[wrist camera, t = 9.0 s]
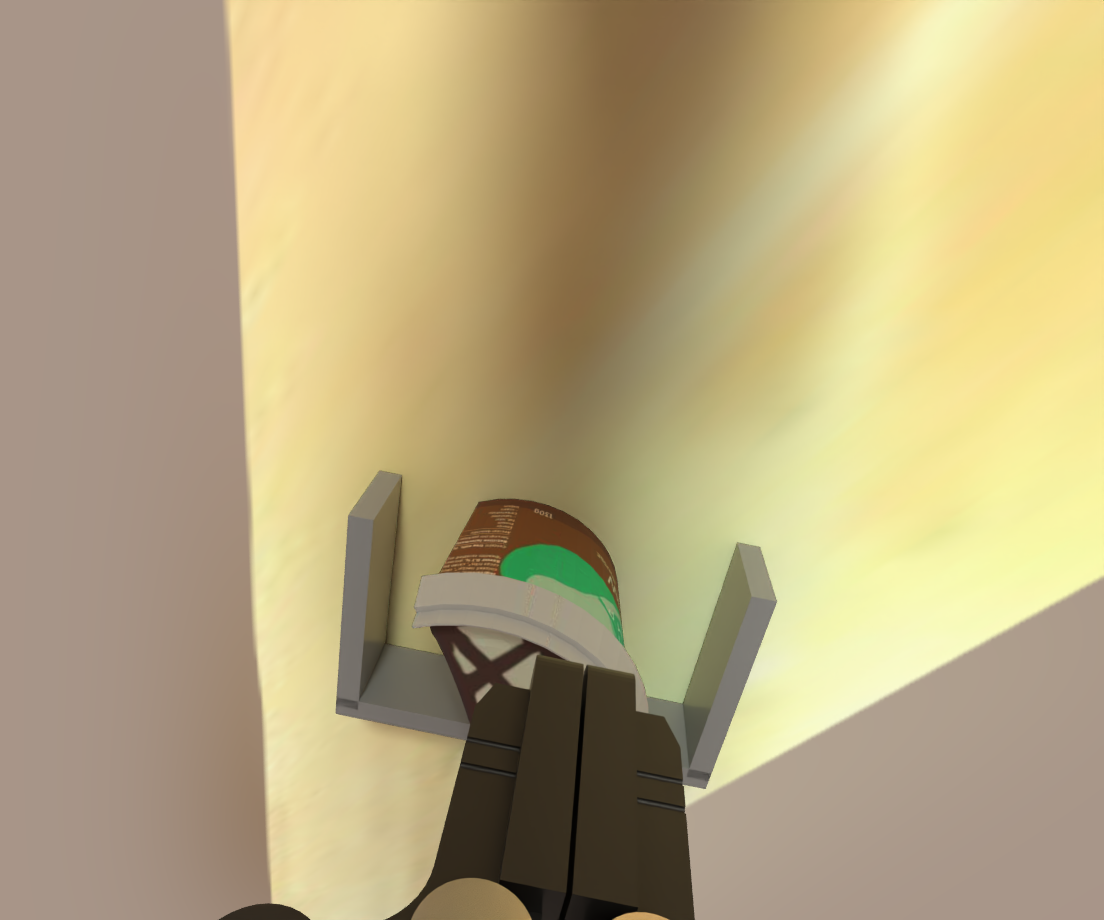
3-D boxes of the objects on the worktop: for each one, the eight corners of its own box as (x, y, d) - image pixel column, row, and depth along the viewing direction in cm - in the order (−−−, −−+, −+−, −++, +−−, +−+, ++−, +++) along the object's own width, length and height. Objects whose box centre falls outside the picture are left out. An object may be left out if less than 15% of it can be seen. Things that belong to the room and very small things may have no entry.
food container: (670, 667, 35) (686, 856, 26) (548, 688, 37) (524, 875, 28) (604, 440, 31) (596, 575, 22) (467, 472, 32) (405, 613, 23)
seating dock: (379, 470, 32) (348, 515, 29) (760, 547, 32) (776, 601, 28) (364, 655, 37) (335, 713, 33) (697, 723, 37) (705, 789, 33)
